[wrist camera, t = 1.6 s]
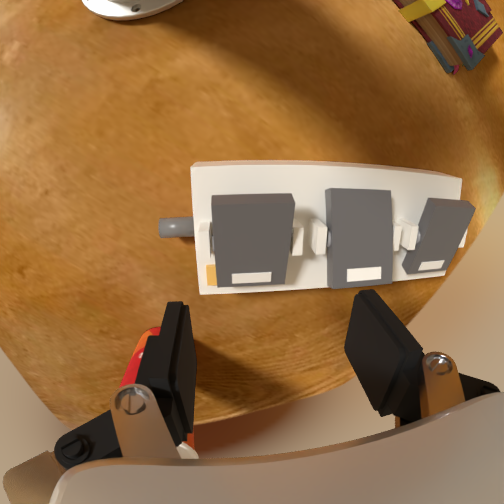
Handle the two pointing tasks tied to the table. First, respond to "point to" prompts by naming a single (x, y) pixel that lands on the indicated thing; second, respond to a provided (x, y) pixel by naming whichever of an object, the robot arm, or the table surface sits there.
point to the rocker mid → (359, 237)
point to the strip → (307, 211)
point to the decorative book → (453, 29)
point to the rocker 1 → (251, 238)
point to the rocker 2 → (438, 235)
